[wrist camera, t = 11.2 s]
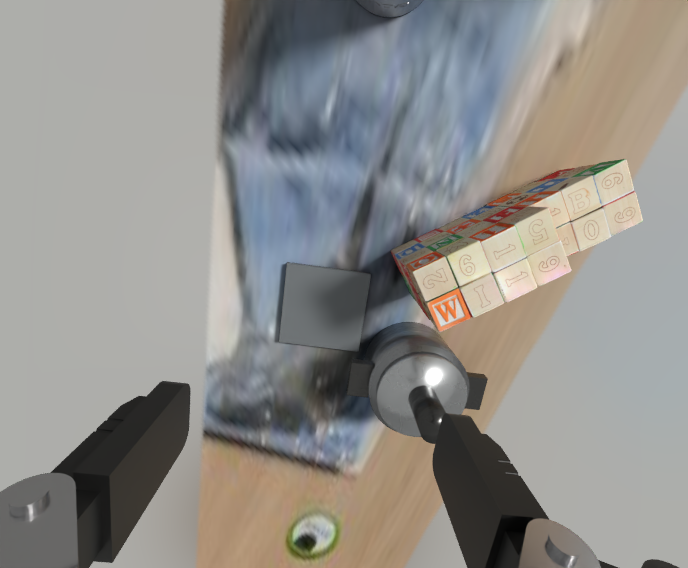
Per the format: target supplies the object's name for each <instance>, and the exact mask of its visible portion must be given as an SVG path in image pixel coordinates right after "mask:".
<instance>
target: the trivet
mask: <svg viewBox="0 0 688 568" xmlns="http://www.w3.org/2000/svg"><path fill="white" fill-rule="evenodd" d="M370 278H371V273H365V272H357V271H350V270H342V269H335V268H327V267H320V266H312V265H305V264H297V263H290V262H288V263H287V267H286V277H285V287H284V297H283V307H282V317H281V326H280V336H279V342H282V343H291V344H299V345H307V346H316V347H324V348H332V349H341V350H349V351H357V352H358V351H359V345H360V339H361V333H362V327H363V321H364V315H365V309H366V303H367V297H368V291H369V285H370Z"/></svg>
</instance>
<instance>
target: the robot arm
mask: <svg viewBox="0 0 688 568" xmlns="http://www.w3.org/2000/svg"><path fill="white" fill-rule="evenodd" d="M422 1H423V0H357V2H358V3H359V4H360V5H362V6H363V7H364V8H365V9H366V10H368V11H370V12H371V13H373V14H375V15H379V16H382V17H396V16H401V15H404V14H406V13H408V12H410V11H412V10H413V9H414V8H416V7H417V6H418V5H419V4H420V3H421V2H422ZM189 414H190V386H189V384H186V383H177V382H167V381H162V382H160V383H159V384H158V385H157V386H156V387H155V388H154V389H153V391H151V392H150V394H148V396H147V397H145V396H138V397H136V398H134V399H133V400H131V401H129V402H127V403H125V404H123V405H121V406H120V407H119V408H118V409H117V410H116V411H115V412H114V413H113V414H112V415H111V416H110V417H109V418H108V420H107V421H104V422H103V423H102V424H101V425H100V426H99V427H98V428H97V430H96V432H93V433H92V434H91V435H90V436H89V437H88V438H86V439H85V441H83V442H82V443H81V444H80V445H79V446H78V447H77V448H76V449H75V450H74V451H73V452H72V453H71V454H70V455H69V456H68V457H66V458H65V459H64V460H63V461H62V462H61V463H60V464H59V465H58V466H57V467H56V468H55V469H54V470H53V471H52V472H51V473H45V474H40V475H36V476H32V477H29V478H27V479H24V480H22V481H19V482H17V483H15V484H13V485H11V486H9V487H7V488H6V489H4V490H3V491H1V492H0V568H89V567H90V565H91V564H92V562H93V561H97V562H110V563H112V562H113V561H114V559H115V558H116V556H117V554H118V553H119V551H120V550H121V548H122V546H123V545H124V543H125V541H126V540H127V538H128V537H129V535H130V533H131V532H132V530H133V529H134V527H135V525H136V524H137V522H138V520H139V519H140V517H141V515H142V514H143V512H144V511H145V509H146V508H147V506H148V504H149V502H150V501H151V499H152V498H153V496H154V495H155V493H156V491H157V490H158V488H159V486H160V485H161V483H162V482H163V480H164V478H165V477H166V475H167V474H168V472H169V470H170V469H171V467H172V465H173V464H174V462H175V461H176V459H177V457H178V456H179V454H180V453H181V451H182V449H183V447H184V445H185V442H186V439H187V436H188V431H189ZM433 472H434V476H435V479H436V481H437V484H438V487H439V490H440V493H441V495H442V498H443V501H444V504H445V507H446V509H447V512H448V515H449V518H450V520H451V523H452V526H453V529H454V532H455V534H456V537H457V540H458V543H459V546H460V548H461V551H462V554H463V557H464V560H465V562H466V565H467V568H618V567H615V566H612V565H610V564H607V563H605V562H602V561H600V560H598V559H597V557H596V555H595V554H594V553H593V551H592V550H591V549H590V547H589V546H588V545H587V544H586V543H585V542H584V541H583V540H582V539H581V538H580V537H579V536H578V535H576V534H575V533H574V532H572V531H571V530H570V529H568V528H566V527H564V526H563V525H561V524H559V523H557V522H554V521H551V520H549V518H548V517H547V515H546V514H545V512H544V511H543V509H542V508H541V506H540V505H539V503H538V502H537V500H536V499H535V497H534V496H533V494H532V493H531V491H530V490H529V488H528V487H527V485H526V484H525V482H524V481H523V479H522V478H521V476H518V472H517V470H516V469H515V467H514V466H513V464H510V460H509V458H508V457H507V455H506V454H505V452H504V451H503V449H502V448H501V447H500V446H499V445H498V444H497V443H495V441H493V440H492V439H491V438H490V437H489V436H488V435H487V434H481V432H480V431H479V429H478V428H477V426H476V424H475V423H474V421H473V420H472V418H471V417H470V416H467V415H458V414H449V413H445V414H444V415H443V417H442V420H441V424H440V428H439V432H438V436H437V440H436V444H435V448H434V453H433ZM641 568H678V567H677V566H674V565H672V564H670V563H667V562H664V561H660V560H653V559H652V560H647V561H645V562H644V564H643V566H642V567H641Z"/></svg>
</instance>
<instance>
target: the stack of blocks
mask: <svg viewBox="0 0 688 568" xmlns="http://www.w3.org/2000/svg"><path fill="white" fill-rule="evenodd" d="M642 221H643V219H642V215H641V211H640V208H639V203H638V200H637V195H636V192H634V187H633V183H632V179H631V175H630V172H629V168H628V164H627V161H626V159H623V160H615V161H608V162H602V163H599V164H597V165H589V166H582V167H577V168H572V169H564V170H559V171H557V172H555V173H553V174H551V175H549V176H547V177H545V178H543V179H541V180H539V181H537V182H533V183H531V184H529V185H527V186H525V187H523V188H520V189H518V190H516V191H514V192H512V193H511V194H508V195H506V196H504V197H501V198H499V199H497V200H495V201H493V202H491V203H489V204H487V205H486V206H484V207H482V208H480V209H478V210H476V211H474V212H472V213H469V214H467V215H465V216H463V217H462V218H460V219H457V220H455V221H453V222H451V223H449V224H447V225H445V226H443V227H441V228H439V229H435V230H433V231H431V232H429V233H427V234H424V235H422V236H420V237H418V238H416V239H414V240H411V241H409V242H407V243H405V244H403V245H401V246H399V247H396V248H394V249H392V250H391V253H392V255H393V258H394V260H395V262H396V264H397V266H398V268H399V271H400V272H401V274H402V276H403V278H404V281H405V283H406V285H407V287H408V290H409V292H410V294H411V295H412V297H413V298H414V299H415V301H416V302H417V303H418V305H419V306H420V307H421V309H422V310H423V312H424V313H425V314H426V316H427V317H428V319H429V320H431V321H432V323H433V324H434V325H435V327H436V328H437V329H438V331H439V332H442V331H444V330H446V329H448V328H450V327H453V326H455V325H457V324H459V323H461V322H463V321H466V320H468V319H470V318H471V317H477V316H479V315H481V314H484V313H485V312H487V311H490V310H492V309H494V308H496V307H498V306H500V305H502V304H504V302H509V301H512V300H514V299H516V298H518V297H520V296H522V295H524V294H526V293H528V292H530V291H532V290H534V289H536V288H537V287H538V286H542V285H544V284H546V283H548V282H550V281H552V280H554V279H556V278H559V277H561V276H563V275H565V274H567V273H569V272H571V271H572V270H571V268H570V265H569V262H568V259H567V257H568V256H570V255H572V254H574V253H576V252H578V251H583V250H585V249H587V248H589V247H591V246H593V245H596V244H598V243H600V242H602V241H604V240H606V239H609V238H610V237H611V236H612V235H615V234H617V233H619V232H622V231H624V230H625V229H628V228H630V227H632V226H634V225H637V224H639V223H641V222H642Z"/></svg>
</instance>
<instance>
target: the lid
mask: <svg viewBox="0 0 688 568" xmlns="http://www.w3.org/2000/svg"><path fill="white" fill-rule="evenodd" d="M376 399H377V404H378V409H379V412H380V414H381V416H382V418H383V420H384V421H385V422H386V423H387V424H388V425H389V426H390V427H391V428H392V429H394V430H395V431H397V432H399V433H401V434H404V435H407V436H413V437H422V438H423V439H424V440H425V441H426V442H429V443H432V444H436V440H437V436H438V432H439V428H440V424H441V420H442V417H443V415H444V414H445V413H449V414H458V415H461V414H462V412H463V410H464V408H465V405H466V402H467V386H466V382H465V380H464V378H463V376H462V374H461V373H460V371H459V370H458V369H457V367H456V366H455V365H454V364H453V363H452V362H451V361H450V360H448V359H447V358H445V357H444V356H442V355H439V354H436V353H432V352H424V351H422V352H413V353H409V354H406V355H403V356H401V357H399V358H397V359H396V360H394V361H393V362H392V363H390V364H389V365H388V366H387V367H386V368H385V370H384V371H383V372H382V374H381V376H380V378H379V380H378V383H377V387H376Z"/></svg>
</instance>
